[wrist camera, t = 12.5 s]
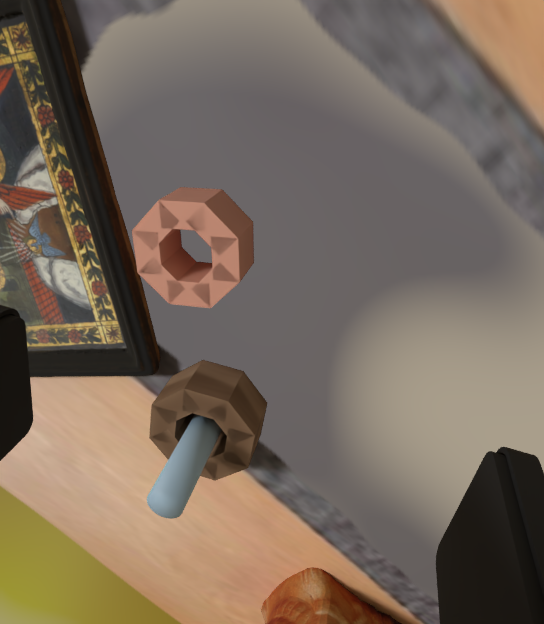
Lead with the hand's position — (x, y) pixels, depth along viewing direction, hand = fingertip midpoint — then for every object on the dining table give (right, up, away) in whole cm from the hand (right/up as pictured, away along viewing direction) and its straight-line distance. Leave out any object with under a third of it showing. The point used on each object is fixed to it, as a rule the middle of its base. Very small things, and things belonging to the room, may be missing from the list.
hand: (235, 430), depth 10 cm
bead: (-4, -6, +37) cm, 38 cm away
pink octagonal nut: (-5, +8, +30) cm, 31 cm away
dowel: (-4, -6, +37) cm, 38 cm away
